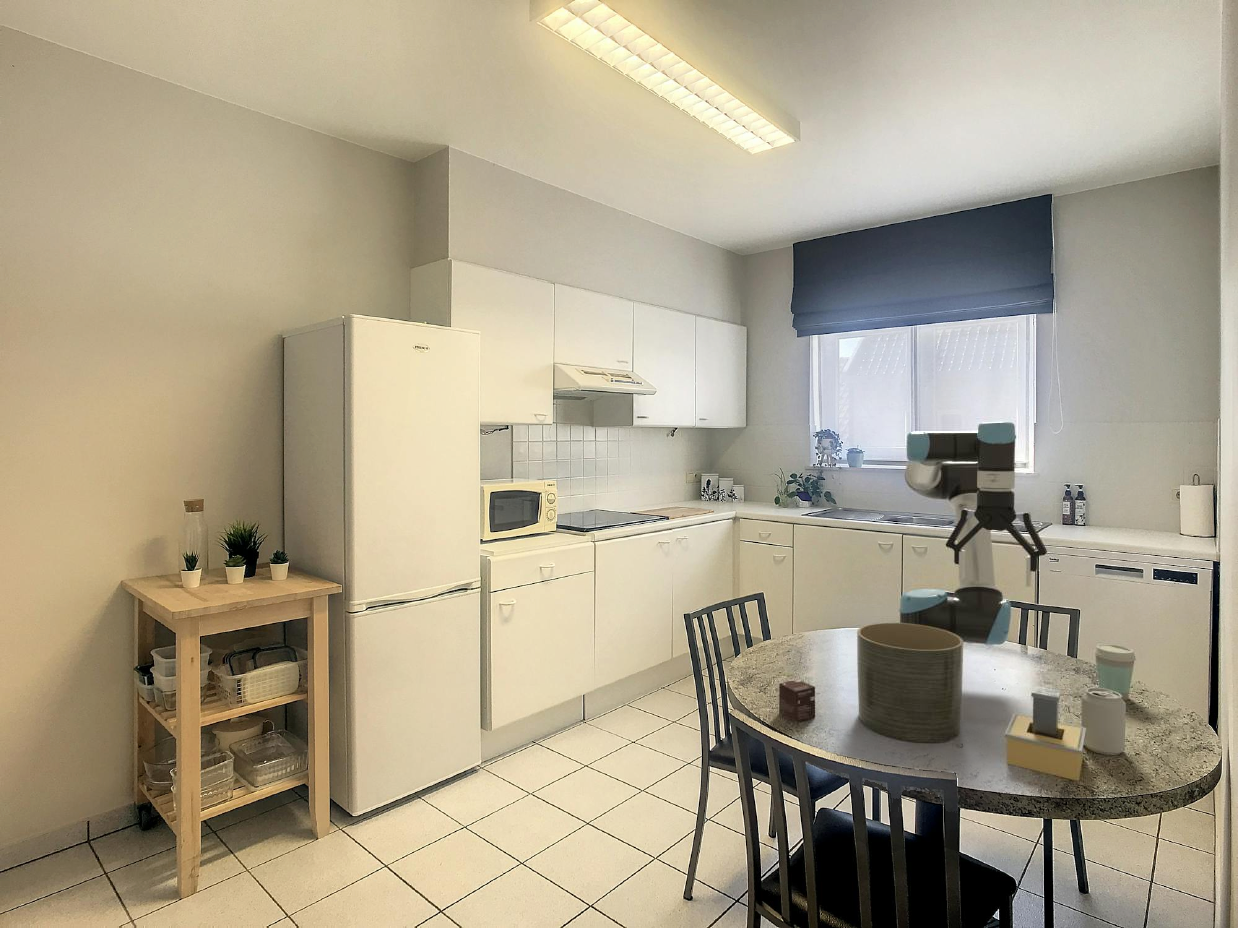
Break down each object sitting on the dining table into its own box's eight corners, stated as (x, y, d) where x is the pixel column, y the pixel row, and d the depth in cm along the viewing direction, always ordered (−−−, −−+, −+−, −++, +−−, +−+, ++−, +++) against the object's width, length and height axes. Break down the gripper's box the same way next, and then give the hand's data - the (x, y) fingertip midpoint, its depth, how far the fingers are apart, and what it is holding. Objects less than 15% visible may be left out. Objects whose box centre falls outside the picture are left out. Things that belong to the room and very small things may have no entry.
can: (1072, 741, 147) (1073, 686, 146) (1105, 739, 148) (1106, 684, 147) (1099, 757, 139) (1100, 699, 139) (1134, 756, 140) (1135, 697, 140)
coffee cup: (1142, 703, 167) (1143, 654, 167) (1102, 701, 169) (1103, 652, 169) (1124, 690, 176) (1125, 644, 175) (1086, 688, 177) (1087, 642, 177)
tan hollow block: (1004, 763, 137) (1004, 733, 137) (1013, 740, 148) (1013, 712, 147) (1081, 782, 130) (1081, 750, 129) (1085, 756, 140) (1086, 727, 140)
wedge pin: (1033, 752, 142) (1034, 685, 141) (1059, 758, 139) (1060, 690, 138) (1030, 761, 138) (1031, 692, 138) (1057, 767, 135) (1058, 697, 135)
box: (795, 722, 158) (795, 691, 157) (778, 713, 163) (778, 683, 163) (815, 717, 160) (816, 686, 160) (798, 708, 166) (798, 678, 165)
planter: (947, 707, 166) (948, 624, 165) (975, 748, 144) (976, 653, 143) (851, 701, 170) (851, 620, 170) (863, 739, 149) (864, 647, 148)
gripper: (932, 488, 162) (932, 578, 163) (1058, 493, 147) (1056, 591, 148) (940, 486, 168) (939, 573, 169) (1061, 490, 153) (1060, 585, 154)
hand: (994, 582), depth 158 cm, fingers open, 13 cm apart
